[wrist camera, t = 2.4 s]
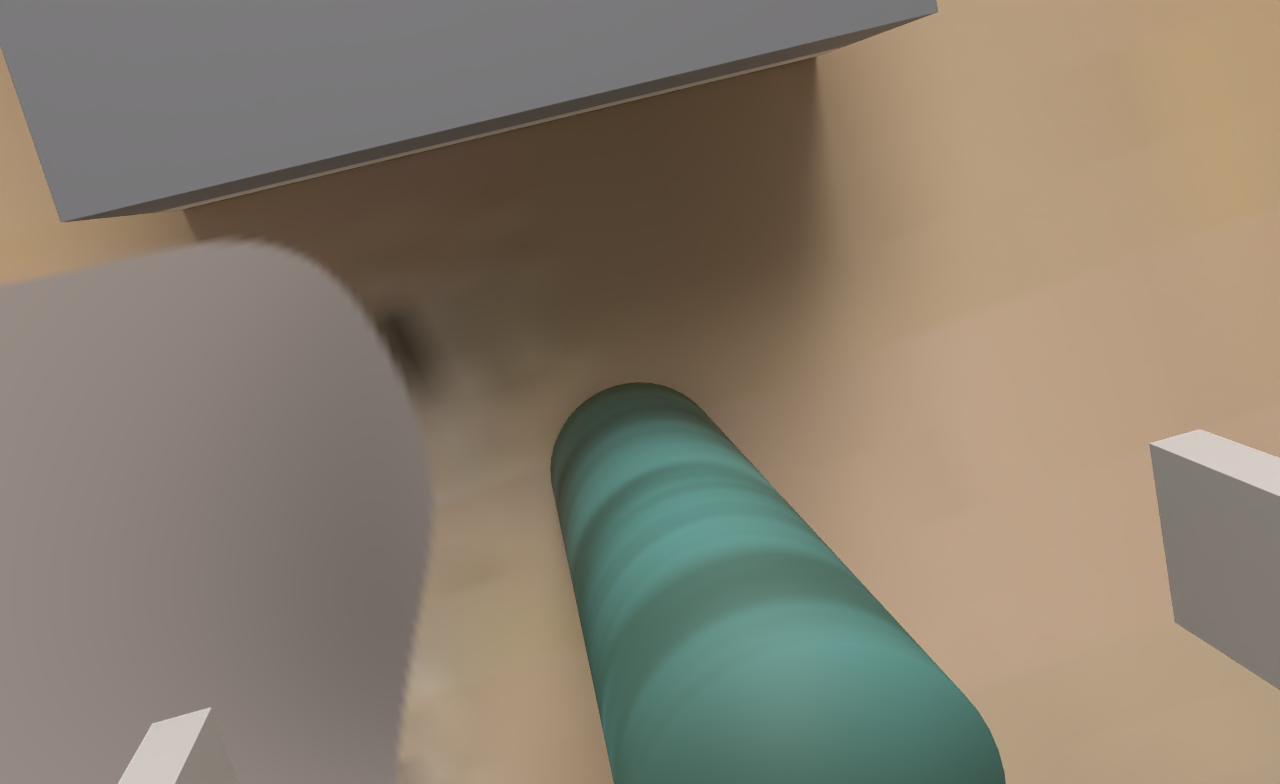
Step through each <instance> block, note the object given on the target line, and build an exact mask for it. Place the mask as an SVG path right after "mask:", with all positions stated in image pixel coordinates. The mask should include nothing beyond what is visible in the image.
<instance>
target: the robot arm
mask: <svg viewBox="0 0 1280 784" xmlns="http://www.w3.org/2000/svg"><path fill="white" fill-rule="evenodd" d="M1149 444H1150V451H1151V458H1152V465H1153V472H1154V480H1155V487H1156V494H1157V501H1158V508H1159V515H1160V522H1161V529H1162V536H1163V543H1164V550H1165V557H1166V564H1167V571H1168V578H1169V585H1170V592H1171V599H1172V606H1173V613H1174V620H1175V623H1177V624H1179V625H1180V626H1182V627H1183V628H1185V629H1186V630H1188V631H1189V632H1191V633H1192V634H1194V635H1196V636H1197V637H1199V638H1200V639H1202V640H1203V641H1205V642H1206V643H1208V644H1210V645H1211V646H1213V647H1214V648H1216V649H1217V650H1219V651H1220V652H1222V653H1223V654H1225V655H1227V656H1228V657H1230V658H1231V659H1233V660H1234V661H1236V662H1237V663H1239V664H1240V665H1242V666H1244V667H1245V668H1247V669H1248V670H1250V671H1251V672H1253V673H1254V674H1256V675H1258V676H1259V677H1261V678H1262V679H1264V680H1265V681H1267V682H1268V683H1270V684H1271V685H1273V686H1275V687H1276V688H1278V689H1279V690H1280V458H1279V457H1276V456H1273V455H1270V454H1267V453H1265V452H1262V451H1259V450H1256V449H1254V448H1251V447H1248V446H1245V445H1242V444H1240V443H1237V442H1234V441H1231V440H1228V439H1226V438H1223V437H1220V436H1217V435H1215V434H1212V433H1209V432H1206V431H1203V430H1201V429H1199V430H1195V431H1192V432H1188V433H1184V434H1181V435H1177V436H1174V437H1170V438H1167V439H1163V440H1160V441H1156V442H1152V443H1149ZM118 784H238V781H237V778H236V775H235V772H234V769H233V766H232V763H231V761H230V758H229V755H228V752H227V749H226V746H225V744H224V741H223V738H222V735H221V732H220V729H219V727H218V724H217V721H216V718H215V715H214V712H213V710H212V707H210V708H206V709H203V710H200V711H196V712H192V713H189V714H185V715H181V716H178V717H175V718H171V719H167V720H164V721H160V722H157V723H153V724H152V725H151V727H150V729H149V731H148V732H147V734H146V736H145V737H144V739H143V741H142V743H141V744H140V746H139V748H138V750H137V751H136V753H135V755H134V757H133V758H132V760H131V762H130V763H129V765H128V767H127V769H126V770H125V772H124V774H123V776H122V777H121V779H120V781H119V783H118Z"/></svg>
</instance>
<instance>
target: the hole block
mask: <svg viewBox="0 0 1280 784" xmlns="http://www.w3.org/2000/svg"><path fill="white" fill-rule="evenodd" d="M937 12H938V8H937V2H936V0H0V46H1V49H2V52H3V55H4V58H5V61H6V63H7V66H8V69H9V72H10V75H11V78H12V81H13V84H14V87H15V90H16V93H17V96H18V98H19V101H20V104H21V107H22V110H23V113H24V116H25V119H26V122H27V125H28V128H29V131H30V133H31V136H32V139H33V142H34V145H35V148H36V151H37V154H38V157H39V160H40V163H41V166H42V168H43V171H44V174H45V177H46V180H47V183H48V186H49V189H50V192H51V195H52V198H53V201H54V204H55V206H56V209H57V212H58V215H59V218H60V221H61V222H70V221H79V220H89V219H98V218H108V217H117V216H127V215H136V214H146V213H155V212H165V211H174V210H182V209H187V208H191V207H195V206H199V205H203V204H207V203H212V202H216V201H220V200H224V199H228V198H232V197H236V196H241V195H245V194H249V193H253V192H257V191H261V190H265V189H270V188H274V187H278V186H282V185H286V184H290V183H294V182H299V181H303V180H307V179H311V178H315V177H319V176H323V175H328V174H332V173H336V172H340V171H344V170H348V169H353V168H357V167H361V166H365V165H369V164H373V163H377V162H382V161H386V160H390V159H394V158H398V157H402V156H406V155H411V154H415V153H419V152H423V151H427V150H431V149H435V148H440V147H444V146H448V145H452V144H456V143H460V142H464V141H469V140H473V139H477V138H481V137H485V136H489V135H494V134H498V133H502V132H506V131H510V130H514V129H518V128H523V127H527V126H531V125H535V124H539V123H543V122H547V121H552V120H556V119H560V118H564V117H568V116H572V115H576V114H581V113H585V112H589V111H593V110H597V109H601V108H606V107H610V106H614V105H618V104H622V103H626V102H630V101H635V100H639V99H643V98H647V97H651V96H655V95H659V94H664V93H668V92H672V91H676V90H680V89H684V88H688V87H693V86H697V85H701V84H705V83H709V82H713V81H717V80H722V79H726V78H730V77H734V76H738V75H742V74H747V73H751V72H755V71H759V70H763V69H767V68H771V67H776V66H780V65H784V64H788V63H792V62H796V61H800V60H805V59H809V58H813V57H817V56H820V55H822V54H825V53H828V52H830V51H833V50H836V49H839V48H841V47H844V46H847V45H850V44H852V43H855V42H858V41H860V40H863V39H866V38H869V37H871V36H874V35H877V34H879V33H882V32H885V31H888V30H890V29H893V28H896V27H898V26H901V25H904V24H907V23H909V22H912V21H915V20H918V19H920V18H923V17H926V16H928V15H931V14H934V13H937Z"/></svg>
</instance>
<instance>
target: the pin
mask: <svg viewBox="0 0 1280 784" xmlns="http://www.w3.org/2000/svg"><path fill="white" fill-rule="evenodd" d="M551 482H552V487H553V492H554V497H555V502H556V506H557V511H558V516H559V521H560V526H561V530H562V535H563V540H564V545H565V550H566V554H567V559H568V564H569V569H570V574H571V579H572V583H573V588H574V593H575V598H576V603H577V607H578V612H579V617H580V622H581V627H582V631H583V636H584V641H585V646H586V651H587V655H588V660H589V665H590V670H591V675H592V680H593V684H594V689H595V694H596V699H597V704H598V708H599V713H600V718H601V723H602V728H603V732H604V737H605V742H606V747H607V752H608V757H609V761H610V766H611V771H612V776H613V781H614V784H1006V783H1005V774H1004V770H1003V766H1002V762H1001V758H1000V754H999V751H998V748H997V746H996V744H995V741H994V739H993V737H992V734H991V732H990V730H989V728H988V726H987V725H986V723H985V722H984V720H983V718H982V717H981V715H980V713H979V712H978V710H977V709H976V708H975V707H974V706H973V704H972V703H971V702H970V701H969V700H968V698H967V697H966V696H965V695H964V694H963V693H962V692H961V690H960V689H959V688H958V687H957V686H956V685H955V684H954V683H953V682H952V681H951V680H950V678H949V677H948V676H947V675H946V674H945V673H944V672H943V671H942V670H941V669H940V668H939V667H938V665H937V664H936V663H935V662H934V661H933V660H932V659H931V658H930V657H929V656H928V655H927V654H926V652H925V651H924V650H923V649H922V648H921V647H920V646H919V645H918V644H917V643H916V642H915V640H914V639H913V638H912V637H911V636H910V635H909V634H908V633H907V632H906V631H905V630H904V629H903V627H902V626H901V625H900V624H899V623H898V622H897V621H896V620H895V619H894V618H893V617H892V615H891V614H890V613H889V612H888V611H887V610H886V609H885V608H884V607H883V606H882V605H881V604H880V602H879V601H878V600H877V599H876V598H875V597H874V596H873V595H872V594H871V593H870V592H869V591H868V589H867V588H866V587H865V586H864V585H863V584H862V583H861V582H860V581H859V580H858V579H857V577H856V576H855V575H854V574H853V573H852V572H851V571H850V570H849V569H848V568H847V567H846V566H845V564H844V563H843V562H842V561H841V560H840V559H839V558H838V557H837V556H836V555H835V554H834V552H833V551H832V550H831V549H830V548H829V547H828V546H827V545H826V544H825V543H824V542H823V541H822V539H821V538H820V537H819V536H818V535H817V534H816V533H815V532H814V531H813V530H812V529H811V528H810V526H809V525H808V524H807V523H806V522H805V521H804V520H803V519H802V518H801V517H800V516H799V514H798V513H797V512H796V511H795V510H794V509H793V508H792V507H791V506H790V505H789V504H788V503H787V501H786V500H785V499H784V498H783V497H782V496H781V495H780V494H779V493H778V492H777V491H776V490H775V488H774V487H773V486H772V485H771V484H770V483H769V482H768V481H767V480H766V479H765V478H764V476H763V475H762V474H761V473H760V472H759V471H758V470H757V469H756V468H755V467H754V466H753V465H752V463H751V462H750V461H749V460H748V459H747V458H746V457H745V456H744V455H743V454H742V453H741V451H740V450H739V449H738V448H737V447H736V446H735V445H734V444H733V443H732V442H731V441H730V440H729V438H728V437H727V436H726V435H725V434H724V433H723V432H722V431H721V430H720V429H719V428H718V427H717V425H716V424H715V423H714V422H713V421H712V420H711V419H710V418H709V417H708V416H707V415H706V413H705V412H704V411H703V410H702V409H701V408H700V407H699V406H698V405H697V404H695V403H694V402H693V401H692V400H691V399H689V398H688V397H686V396H685V395H683V394H681V393H679V392H677V391H675V390H673V389H671V388H668V387H665V386H662V385H657V384H652V383H628V384H623V385H617V386H614V387H611V388H608V389H606V390H603V391H601V392H599V393H597V394H595V395H594V396H592V397H591V398H589V399H588V400H586V401H585V402H584V403H583V404H581V405H580V406H579V407H578V408H577V409H576V410H575V411H574V412H573V413H572V414H571V415H570V417H569V418H568V419H567V421H566V422H565V424H564V425H563V427H562V429H561V431H560V433H559V435H558V437H557V439H556V442H555V445H554V448H553V453H552V458H551Z"/></svg>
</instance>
